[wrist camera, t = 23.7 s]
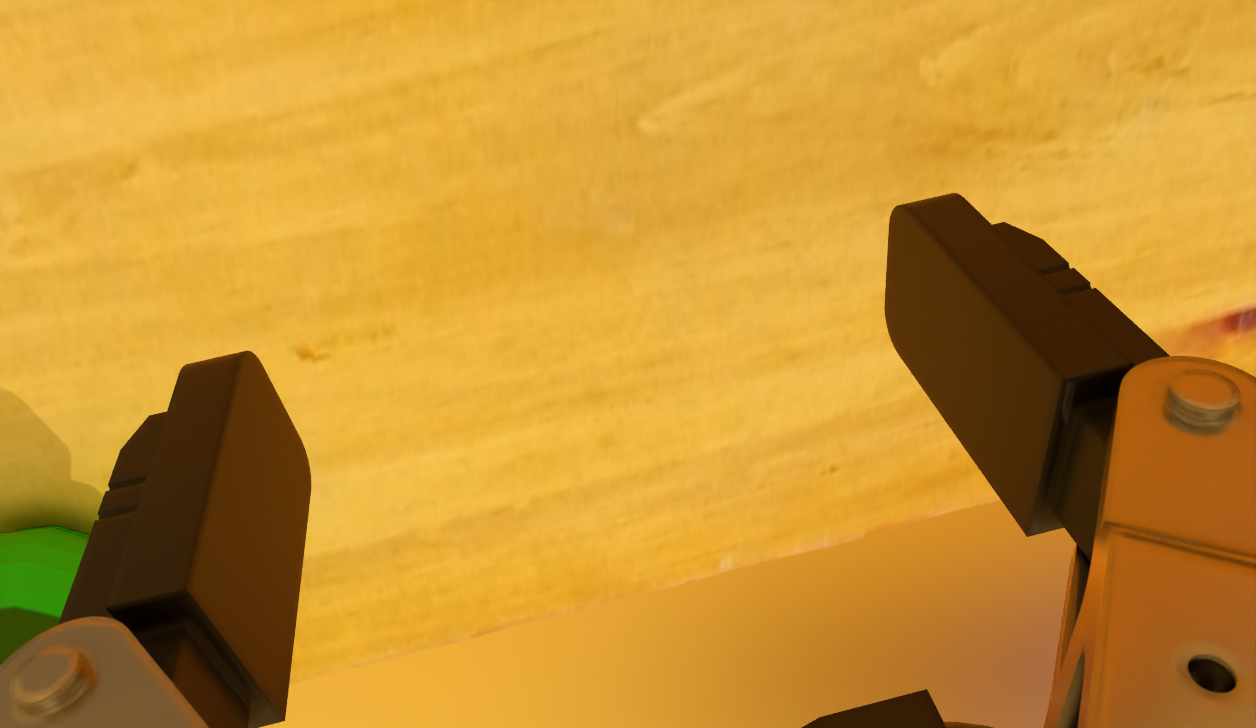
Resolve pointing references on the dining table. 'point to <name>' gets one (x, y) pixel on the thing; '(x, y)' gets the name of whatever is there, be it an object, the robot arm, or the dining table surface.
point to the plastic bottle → (35, 581)
